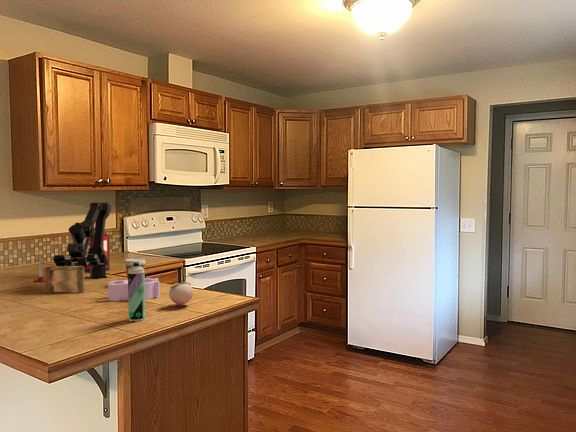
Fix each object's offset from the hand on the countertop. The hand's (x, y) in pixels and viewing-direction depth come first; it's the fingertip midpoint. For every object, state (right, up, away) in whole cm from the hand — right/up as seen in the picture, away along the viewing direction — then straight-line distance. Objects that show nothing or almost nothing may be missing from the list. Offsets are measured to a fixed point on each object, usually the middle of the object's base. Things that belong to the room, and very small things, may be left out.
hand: (72, 276), depth 204 cm
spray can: (+42, -10, -42) cm, 60 cm away
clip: (+30, -8, -10) cm, 33 cm away
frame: (-3, -7, -1) cm, 8 cm away
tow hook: (-25, -6, +26) cm, 37 cm away
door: (-3, -7, 0) cm, 7 cm away
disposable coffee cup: (+22, -6, +16) cm, 28 cm away
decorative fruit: (+53, -9, -24) cm, 59 cm away
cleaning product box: (-14, -4, +54) cm, 56 cm away
